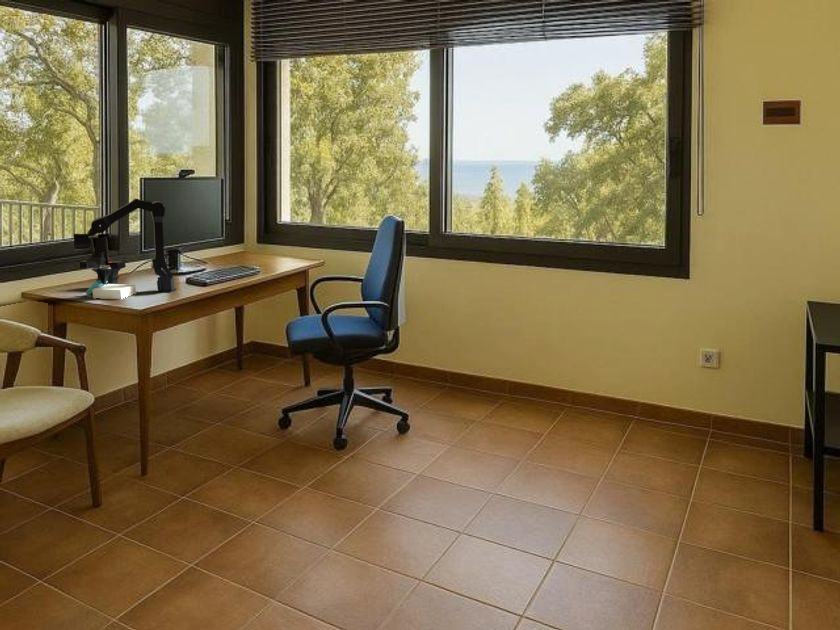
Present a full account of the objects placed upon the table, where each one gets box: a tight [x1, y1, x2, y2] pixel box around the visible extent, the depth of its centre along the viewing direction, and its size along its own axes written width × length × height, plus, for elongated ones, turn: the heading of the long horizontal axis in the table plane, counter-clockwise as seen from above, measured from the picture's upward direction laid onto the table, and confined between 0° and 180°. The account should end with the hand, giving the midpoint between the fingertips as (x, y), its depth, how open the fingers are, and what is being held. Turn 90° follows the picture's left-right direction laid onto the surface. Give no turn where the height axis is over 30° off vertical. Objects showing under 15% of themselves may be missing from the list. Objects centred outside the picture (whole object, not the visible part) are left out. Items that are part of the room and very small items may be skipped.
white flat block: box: [92, 283, 137, 300], centre depth 323 cm, size 13×12×4 cm
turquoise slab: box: [84, 279, 108, 296], centre depth 324 cm, size 8×6×2 cm
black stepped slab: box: [95, 257, 121, 285], centre depth 339 cm, size 4×13×15 cm, turn 58°
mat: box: [75, 292, 93, 298], centre depth 326 cm, size 10×9×1 cm
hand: (104, 284), depth 322 cm, fingers closed
